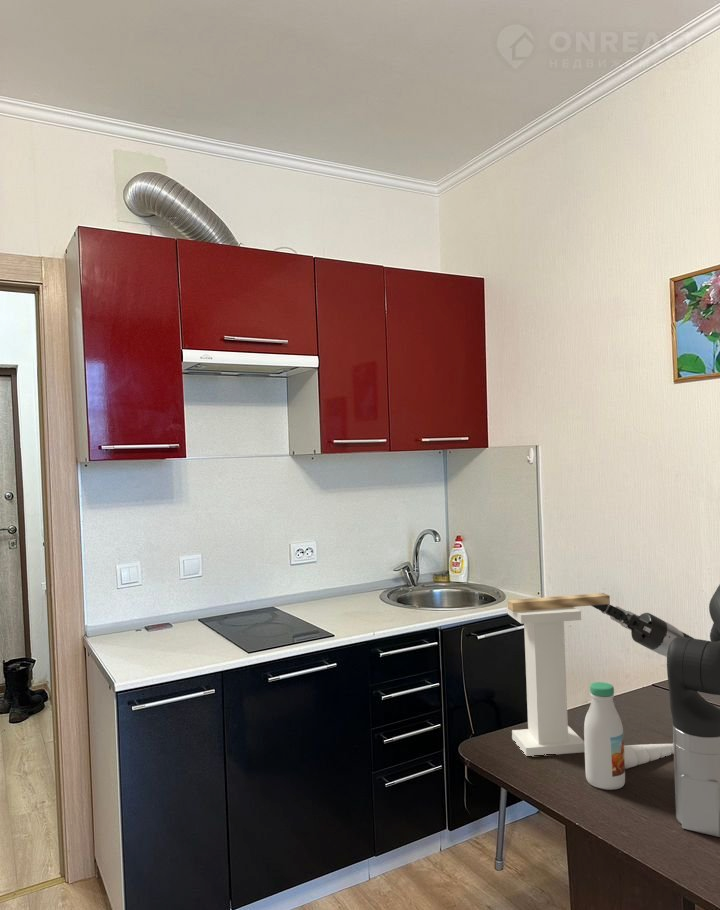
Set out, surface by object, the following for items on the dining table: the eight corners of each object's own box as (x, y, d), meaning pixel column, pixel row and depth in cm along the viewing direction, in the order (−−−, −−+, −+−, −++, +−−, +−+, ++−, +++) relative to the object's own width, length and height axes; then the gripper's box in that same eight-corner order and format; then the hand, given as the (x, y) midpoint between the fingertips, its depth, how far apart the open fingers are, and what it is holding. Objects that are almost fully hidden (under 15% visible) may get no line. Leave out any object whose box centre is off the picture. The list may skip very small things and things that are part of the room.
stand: (568, 734, 166) (563, 601, 165) (586, 752, 156) (580, 611, 156) (512, 738, 164) (507, 605, 164) (526, 756, 154) (520, 615, 154)
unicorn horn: (706, 753, 153) (706, 732, 153) (620, 775, 145) (619, 752, 145) (690, 745, 157) (689, 724, 157) (604, 765, 149) (604, 743, 149)
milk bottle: (600, 793, 137) (596, 693, 137) (578, 776, 144) (574, 681, 144) (633, 787, 139) (629, 688, 139) (610, 770, 146) (606, 677, 146)
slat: (603, 601, 164) (603, 593, 164) (609, 604, 161) (609, 595, 161) (508, 608, 161) (507, 600, 161) (512, 611, 158) (512, 603, 158)
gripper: (649, 614, 170) (593, 584, 168) (681, 628, 156) (620, 596, 154) (635, 641, 169) (579, 611, 168) (666, 658, 155) (605, 626, 154)
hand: (599, 604), depth 161 cm, fingers open, 8 cm apart
